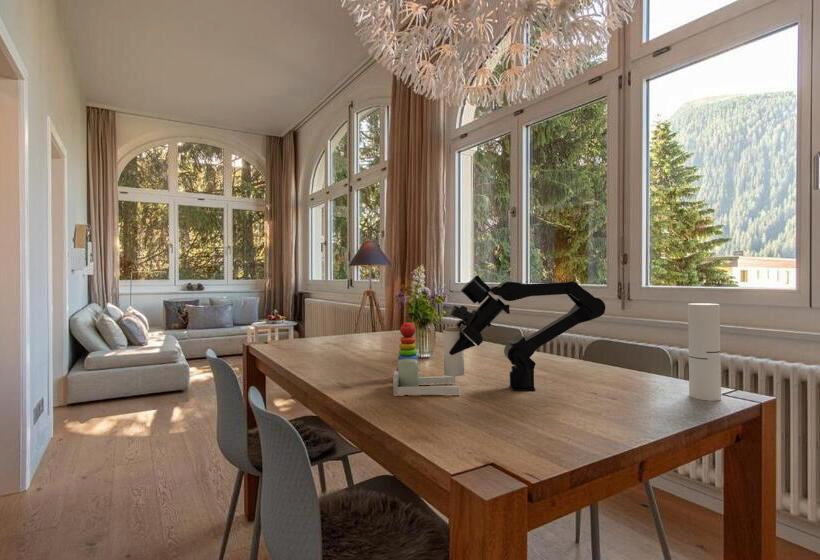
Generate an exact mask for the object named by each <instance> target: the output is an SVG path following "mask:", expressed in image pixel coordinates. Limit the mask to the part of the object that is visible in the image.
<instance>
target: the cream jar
mask: <svg viewBox="0 0 820 560" xmlns="http://www.w3.org/2000/svg"><path fill="white" fill-rule="evenodd" d="M459 330H460V331H461V332H462V333H463V334H464V332H463V331H462V330H461V327H458V326H447V327H445V329H443V331H442V332H443V335H442V337H443V374H444V376H455V377H461V376H464V375H465V350H463V351H461V352H458V353H456V354H453V355H451V354H450V353H449V352H450V350H451V349H452V347H453V346H454V344H455V343H456V341H457V340H458V338H459Z"/></svg>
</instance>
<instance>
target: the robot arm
mask: <svg viewBox="0 0 820 560" xmlns="http://www.w3.org/2000/svg"><path fill="white" fill-rule="evenodd" d="M460 291H461V293H463V295H465V297H467V299H469V300H470V301H471V302H472V304H476V303H478V304H480V305H479V306H478V308H477V309H473V310H471V311H469V310H468V307H466V306H464V305H461V306H457V305H455V304H454V305H453V306H452V308H451V311H450V314H449V315H450V316H451V317H454V318H457V319H459V320H458V321H457V322H456V323H455V326H456V327H461V330H462V331H463V332H464V334H463V333H462V332H461V331H460V330H459V338H458V340H457V341H456V343H455V344H454V346H453V347H452V349H451V350H450V352H449V353H450V354H451V355H453V354H456V353H458V352H461V351H463V350H464V351H465V350H468V349H470V348H473V347H476V346H478V347H479V346H480V345H481V344H482V343H483V341H484V337H483V335H482V333H483V332H484V331H485V329H487V327H490V326H491V325H492V322H494V320H495V319H497V317H498V316H499V315H500V314H501V312H504V313H505V314H508V315H510V313H511V312H510V306H511V305H510V304H505V302H503V301H502V300H504V301H506V302H513V301H517V300H518V301H519V300H522V299H525V298H528V297H541V296H557V295H558V296H560V295H561V296H562V295H567V297H569V298H570V300H571V301H572V302H573V303H574V305H573V306H572V307H571V309H570V310H569V311H568V312H567V313H565V314H564V315H562V316H561V317H558V318H557V319H555V320H553V321H552V322H550V323H548V324H547V325H545V326H544V327H542V328H540V329H538V330H537V331H535V332H533V333H531V335H529V336H525V337H524V336H523V335H522V334H518V335H516V336H515V337H514V338H513V339H510V340H508V343H507V344H506V345H505V346H504V349H503V354H504V357H506V359H507V360H508V361H509V362H510V363H511V367H510V368H511V370H510V371H509V375H508V376H509V386H510V387H511V389H512V391H536V387H535V368H536V367H535V366H536V364H537V363H536V362H535V361H534V360H533V359H532V358H531V357H532V356H533V355H534V354H535V353H536V351H537V350H538V349H539V348H541V347H543V345H546V344H547V343H549V342H550V341H552V340H553V339H555V338H557V337H559V336H560V335H562V334H564V333H565V332H567V331H569V330H570V329H572V328H573V327H575V326H577V325H579V324H581V323H586V322H590V321H593V320H595V319H598V318H601V317H602V316H603V315H604V314H605V313H606V303H605V302H604V301H603V300H602V298H601V299H600V298H598V297H595V296H594V295H593V294H591V293H590V292H589V291H587V290H586V289H585V288H583V287H581V285H579V284H578V282H576V281H573V280H567V281H562V282H561V281H560V282H559V281H558V282H542V283H541V282H539V283H538V282H537V283H522V282H517V281H516V282H515V281H502V282H500V283H499V285H497V286H490V287H489V285H487V283H485V281H483V280H482V278H481V277H480V276H479V275H477V274H476V275H475V276H474V277H473V278H472V279H471V280H470V281H468V282H466V284H465V285H464V286H463V287H462V288H461V289H460ZM492 295H493V296H498V298H496V299H495V298H494V297H493V296H492Z"/></svg>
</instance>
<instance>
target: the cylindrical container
mask: <svg viewBox="0 0 820 560" xmlns="http://www.w3.org/2000/svg"><path fill="white" fill-rule="evenodd" d="M720 305H721V304H719V303H708V302H707V303H703V302H702V303H701V302H699V303H697V302H695V303H687V325H688V326H687V328H688V329H687V332H688V334H687V335H688V337H687V339H688V341H687V342H688V344H687V345H688V390H689V391H688V392H689V393H688V394H689V395H688V396H689V397H691V399H692V398H693V399H696V400H703V401H711V402H712V401H713V402H716V401H720V400H721V399H722V370H721V369H722V368H721V367H722V366H721V364H722V363H721V362H722V361H721V360H722V359H721V357H722V356H721V307H720Z"/></svg>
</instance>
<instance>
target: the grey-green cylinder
mask: <svg viewBox="0 0 820 560" xmlns="http://www.w3.org/2000/svg"><path fill="white" fill-rule="evenodd" d="M418 363H419V359H400V360H398V361H397V368H398V375H399V386H398V387H414V386H419V374H420V373H419V372H420V369H418V368H419V365H418Z"/></svg>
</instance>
